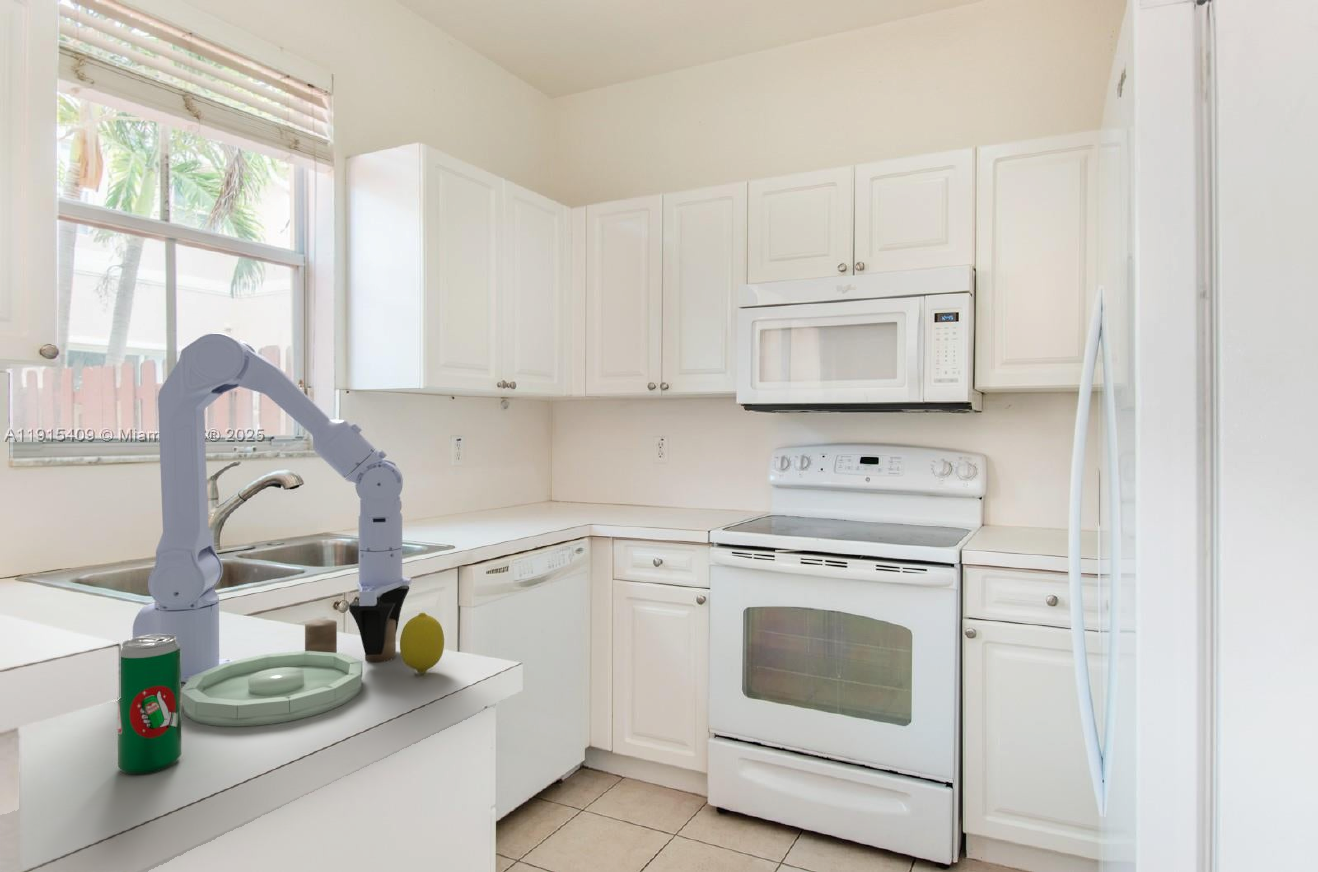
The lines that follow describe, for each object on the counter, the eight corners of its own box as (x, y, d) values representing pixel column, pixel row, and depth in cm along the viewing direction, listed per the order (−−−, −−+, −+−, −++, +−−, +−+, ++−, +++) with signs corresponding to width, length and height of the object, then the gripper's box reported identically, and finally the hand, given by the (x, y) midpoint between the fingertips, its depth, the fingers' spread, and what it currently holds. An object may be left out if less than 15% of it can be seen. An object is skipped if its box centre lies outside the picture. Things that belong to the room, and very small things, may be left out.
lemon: (431, 682, 98) (431, 619, 97) (391, 679, 99) (391, 616, 99) (451, 668, 103) (451, 608, 103) (413, 665, 104) (413, 606, 104)
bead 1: (298, 662, 105) (298, 626, 105) (317, 654, 109) (317, 619, 109) (324, 665, 104) (325, 628, 104) (342, 656, 108) (342, 620, 108)
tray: (141, 718, 85) (141, 696, 85) (262, 665, 104) (262, 647, 104) (294, 733, 81) (294, 710, 81) (391, 675, 100) (391, 656, 100)
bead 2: (359, 661, 106) (359, 624, 106) (375, 652, 110) (375, 617, 110) (385, 663, 105) (385, 626, 105) (401, 654, 109) (401, 619, 109)
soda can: (137, 754, 76) (137, 632, 76) (191, 752, 76) (191, 632, 76) (105, 777, 71) (104, 648, 71) (163, 776, 71) (162, 647, 71)
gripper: (399, 556, 100) (399, 660, 101) (420, 539, 115) (420, 630, 115) (342, 557, 100) (342, 662, 100) (371, 540, 114) (371, 632, 114)
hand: (380, 645), depth 107 cm, fingers open, 7 cm apart
